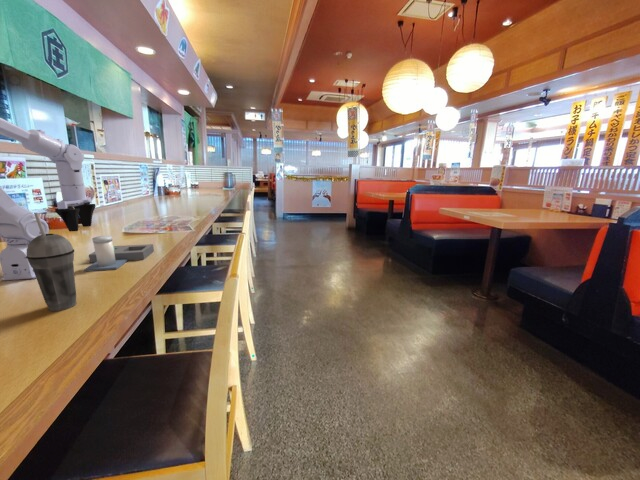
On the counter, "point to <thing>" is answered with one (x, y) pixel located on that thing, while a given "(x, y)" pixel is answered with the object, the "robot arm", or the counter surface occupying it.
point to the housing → (128, 252)
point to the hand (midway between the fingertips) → (80, 228)
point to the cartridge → (104, 250)
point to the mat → (111, 267)
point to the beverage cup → (53, 268)
